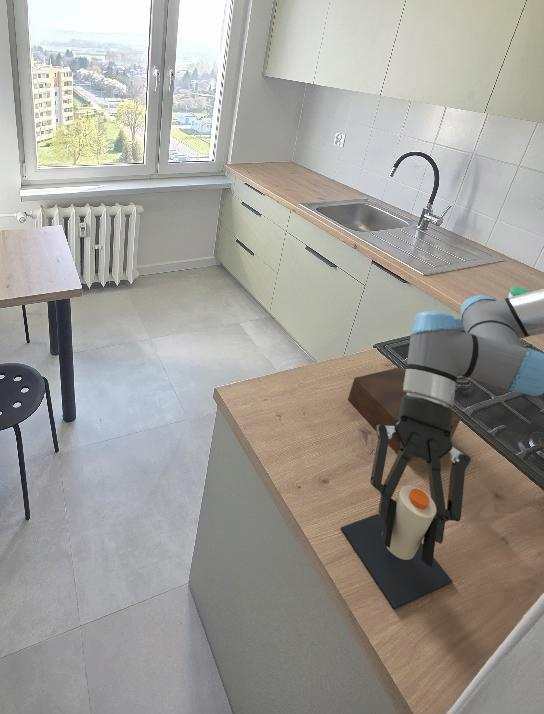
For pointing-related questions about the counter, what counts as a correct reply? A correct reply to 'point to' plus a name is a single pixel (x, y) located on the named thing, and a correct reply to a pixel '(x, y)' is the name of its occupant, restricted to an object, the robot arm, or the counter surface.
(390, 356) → the counter surface
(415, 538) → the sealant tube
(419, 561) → the mat
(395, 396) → the shelf
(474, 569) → the counter surface
